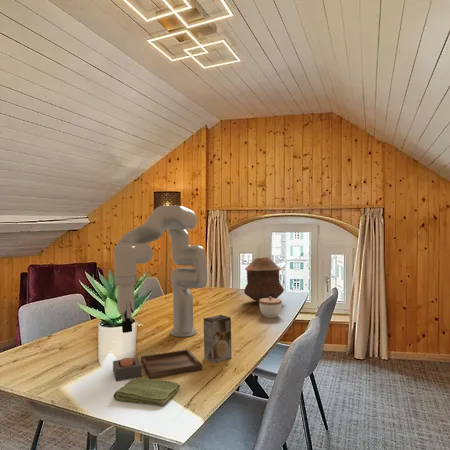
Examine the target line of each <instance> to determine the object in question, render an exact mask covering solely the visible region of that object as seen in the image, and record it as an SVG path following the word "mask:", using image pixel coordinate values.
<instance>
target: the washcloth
mask: <svg viewBox="0 0 450 450" xmlns="http://www.w3.org/2000/svg"><path fill="white" fill-rule="evenodd" d="M180 387H181V384H180V383H178V382H175V381H174V382H173V381H170V380H165V379H164V380H162V379H160V380H159V379H148V378H146V377H139V378H133V379H129V381H128V382H127V383H125V384H124V385H123V386H122V387H120V388H119V389H118V390H116V391H115V392H114V394H113V399H114V400H115V401H118V402H124V403H131V404H145V405H146V404H147V405H155V406H161V407H164V406H165V404H166V403H167V402H168V401H169V400H170V399H171V398H173V396H174V395H175V394H176V392H177V391H178V390H179V389H180Z"/></svg>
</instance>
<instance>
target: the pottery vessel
mask: <svg viewBox="0 0 450 450" xmlns="http://www.w3.org/2000/svg"><path fill="white" fill-rule="evenodd" d="M244 270H245V271H246V278H247V279H246V280H247V281H246V282H247V283H246V284H245V287H244V290H243V293H244V295H246V296H247V297H248V298H250V299H252V300H253V301H255V302H257V303H256V304H258V305H259V300H260V299H262V298H269V297H270V296H271V298H277V299H279V297H280V296H281V295H282V294H283V293H284V291H285V289H284V288H283V286H282V284H281V283H280V271H281V267H279V266H278V265H277V263H275V262H274V261H273V260H272V259H271V258H270V257H269V256H260V257H255V258H254V260H252V261H251V262H250V264H249V265H247V266H246V267H245V268H244Z"/></svg>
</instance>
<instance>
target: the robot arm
mask: <svg viewBox="0 0 450 450" xmlns="http://www.w3.org/2000/svg"><path fill="white" fill-rule="evenodd" d="M197 224H198V217H197V214H196V213H195V211H193V210H192V209H189V208H187V207H185V206H182V205H159V206H158V207H156V208H155V209H154V210H153V212H151V214H150V215H149V217H148V218H147V219H146V221H145V222H144V223H143V224H141V225H139V226H137V227H135V228H134V229H131V230H130V231H128V232H126V233H125V234H124V235H122V237H121V238H120V240H119V241H118V242H117V243H116V245H115V247H114V249H113V262H114V267H113V268H114V286H116V288H117V289H116V290H117V291H116V294H117V298H116V299H117V301H116V302H117V303H116V307H117V308H116V309H117V311H118V313H119V315H120V316H121V318H122V320H121V329H122V330H121V332H122V333H124V334H125V333H132V332H133V321H132V319H133V317H132V314H134V313H135V310H136V309H135V285H137V284H138V280H137V274H138V272H137V264H146V263H148V262H150V261H151V259H152V258H153V255H154V251H153V248H152V246H151V245H150V244H148V243H151V242H155V241H157V240H160V238H161V237H162V236H163V234H164V233H165V232H166V231H167V233H168V234H169V236H170V242H171V244H170V245H171V257H172V261H173V263H174V264H175V265H177V266H186V267H176V268H174V269H173V270H171V274H170V282H171V288H172V309H173V313H172V316H173V317H172V319H173V321H172V322H173V326H172V327H173V329H171V330H170V335H171V336H172V337H176V338H186V337H188V338H189V337H192V336H194V335H196V334H197V329H196V328H194V297H193V296H194V295H193V293H192V291H191V289H203V288H205V287H206V286H207V283H208V269H207V265H208V264H207V255H206V251H205V249H204V247H203V246H201V245H191V244H190V243H191V242H190V235H189V232H188V231H189V230H193V229H195V228H196V227H197ZM187 266H189V267H187ZM191 266H192V267H191Z"/></svg>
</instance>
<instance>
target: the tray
mask: <svg viewBox="0 0 450 450" xmlns="http://www.w3.org/2000/svg"><path fill="white" fill-rule="evenodd" d="M140 364H141V367H142V368H143V369H144V371H145V373H146V375H147V376H148V378H149V379H150V380H156V379H160V378H166V377H171V376H177V375H182V374H187V373H188V374H189V373H193V372H199V371H203V363H202V362H201V361H200V360H199V359H198V358H197V357H196V356H195V355H194V354H193V353H192V352H191V351H190V350H189V349H183V350H175V351H168V352H162V353H155V354H149V355H143V356H142V355H141V356H140Z"/></svg>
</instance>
